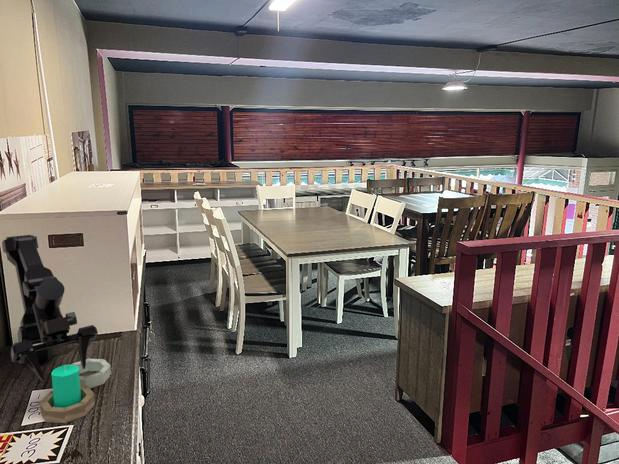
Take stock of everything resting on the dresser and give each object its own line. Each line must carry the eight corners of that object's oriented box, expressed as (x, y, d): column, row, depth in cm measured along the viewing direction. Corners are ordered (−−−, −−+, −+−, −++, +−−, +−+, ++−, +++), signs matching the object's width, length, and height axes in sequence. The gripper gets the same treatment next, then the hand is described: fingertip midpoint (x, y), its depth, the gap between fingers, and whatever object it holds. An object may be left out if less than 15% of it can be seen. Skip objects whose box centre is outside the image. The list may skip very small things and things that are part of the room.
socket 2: (56, 388, 119) (55, 378, 118) (77, 367, 130) (77, 358, 129) (98, 390, 119) (97, 380, 118) (115, 369, 130) (115, 359, 129)
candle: (70, 418, 107) (66, 372, 105) (48, 414, 108) (44, 368, 106) (87, 403, 113) (84, 360, 111) (66, 400, 114) (63, 357, 112)
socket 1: (32, 421, 105) (31, 410, 105) (58, 395, 116) (57, 384, 115) (79, 423, 105) (78, 412, 105) (100, 396, 116) (100, 386, 116)
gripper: (8, 312, 104) (22, 374, 98) (93, 295, 116) (110, 350, 111) (5, 332, 111) (18, 391, 106) (85, 314, 124) (101, 367, 118)
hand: (64, 374), depth 110 cm, fingers open, 9 cm apart
